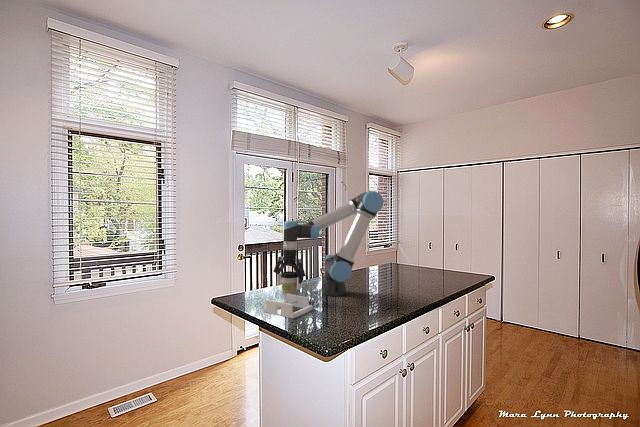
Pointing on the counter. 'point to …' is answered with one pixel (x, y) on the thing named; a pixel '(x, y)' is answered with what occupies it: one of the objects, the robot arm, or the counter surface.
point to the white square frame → (285, 308)
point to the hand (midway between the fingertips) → (288, 287)
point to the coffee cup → (289, 283)
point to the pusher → (297, 301)
